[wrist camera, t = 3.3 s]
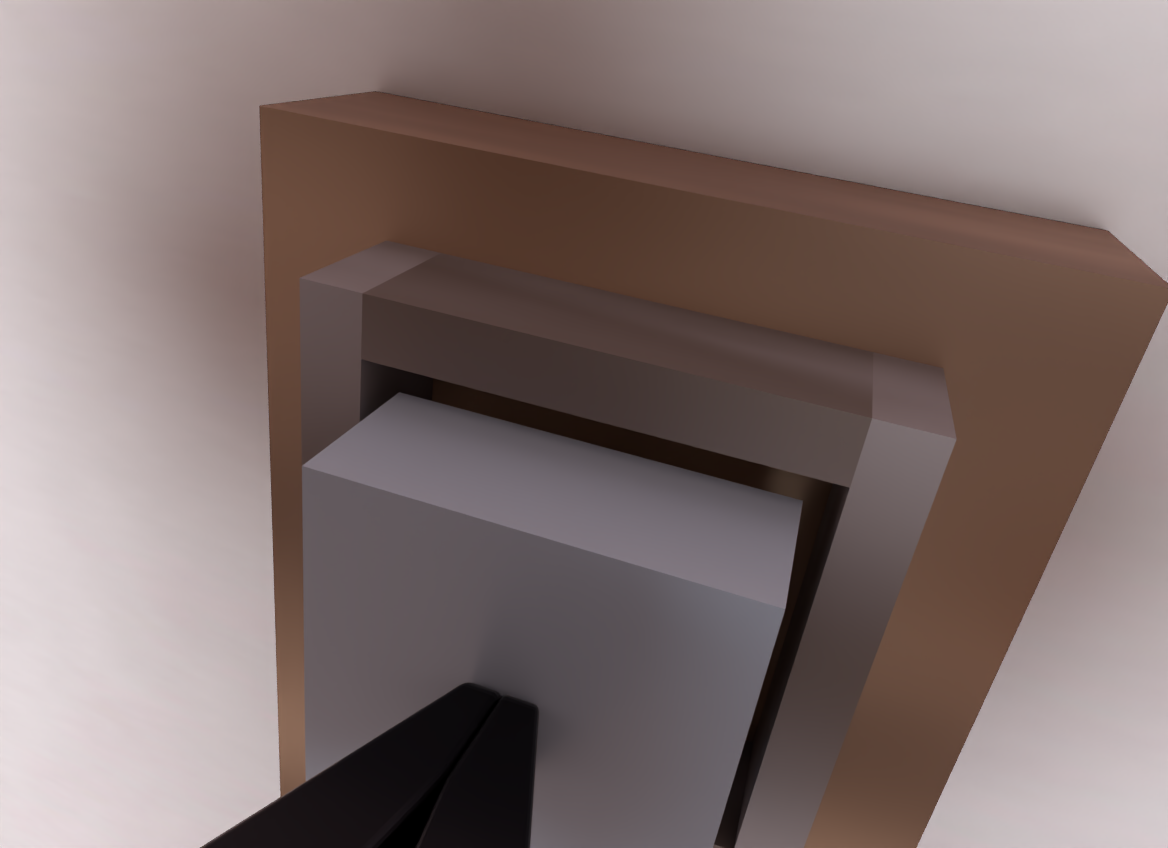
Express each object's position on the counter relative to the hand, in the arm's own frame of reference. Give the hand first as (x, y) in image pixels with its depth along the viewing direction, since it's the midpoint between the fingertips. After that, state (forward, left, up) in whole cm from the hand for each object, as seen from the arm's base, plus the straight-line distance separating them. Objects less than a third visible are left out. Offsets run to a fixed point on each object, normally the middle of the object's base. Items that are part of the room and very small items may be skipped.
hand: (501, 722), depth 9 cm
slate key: (0, 0, -2) cm, 2 cm away
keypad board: (-8, -5, -7) cm, 12 cm away
